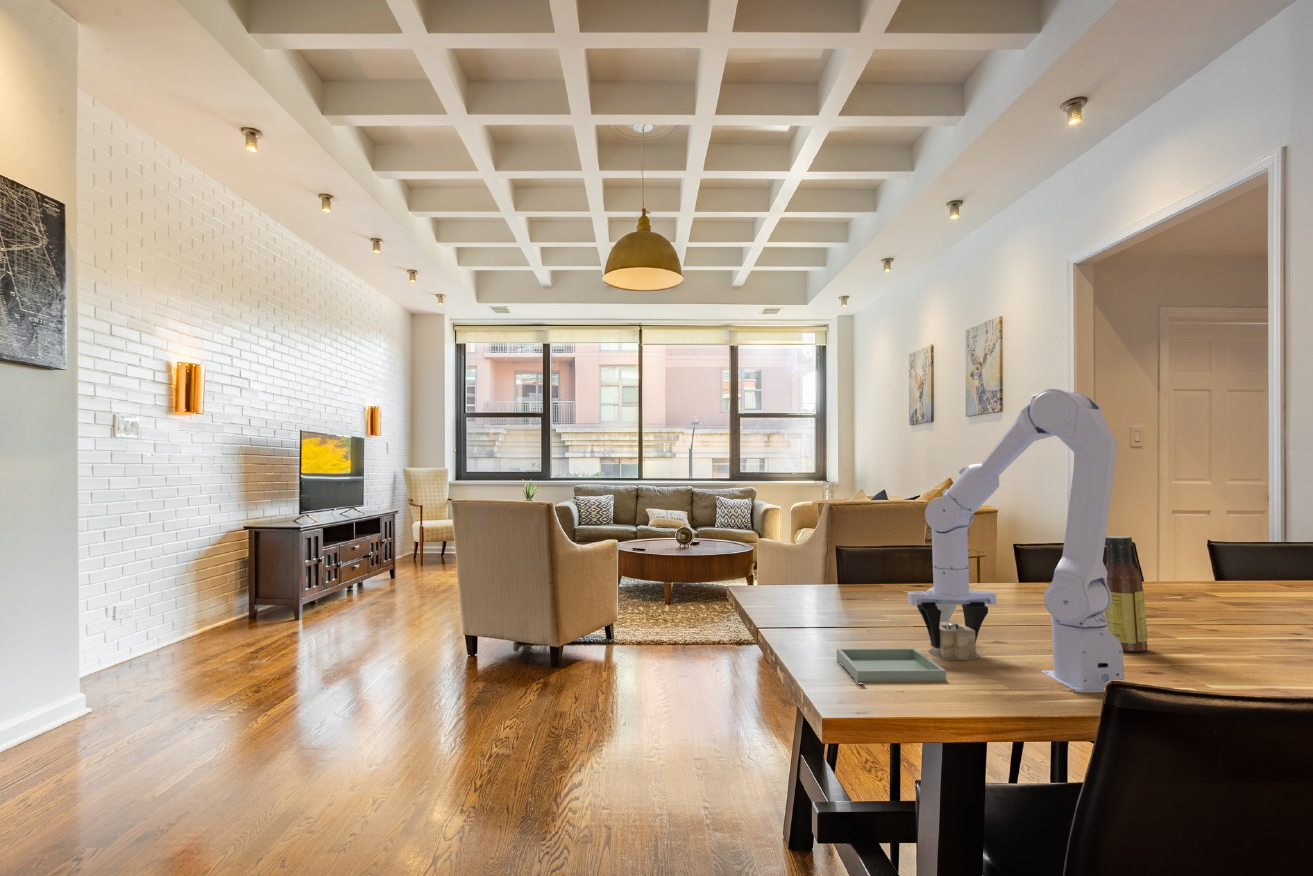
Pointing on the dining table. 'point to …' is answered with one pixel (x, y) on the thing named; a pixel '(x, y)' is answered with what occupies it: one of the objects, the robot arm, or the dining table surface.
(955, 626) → the grey metal round stand
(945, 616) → the light bulb
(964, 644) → the beige hollow block
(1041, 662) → the dining table surface
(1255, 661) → the dining table surface
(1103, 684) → the robot arm
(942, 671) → the tray
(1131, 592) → the sauce bottle
